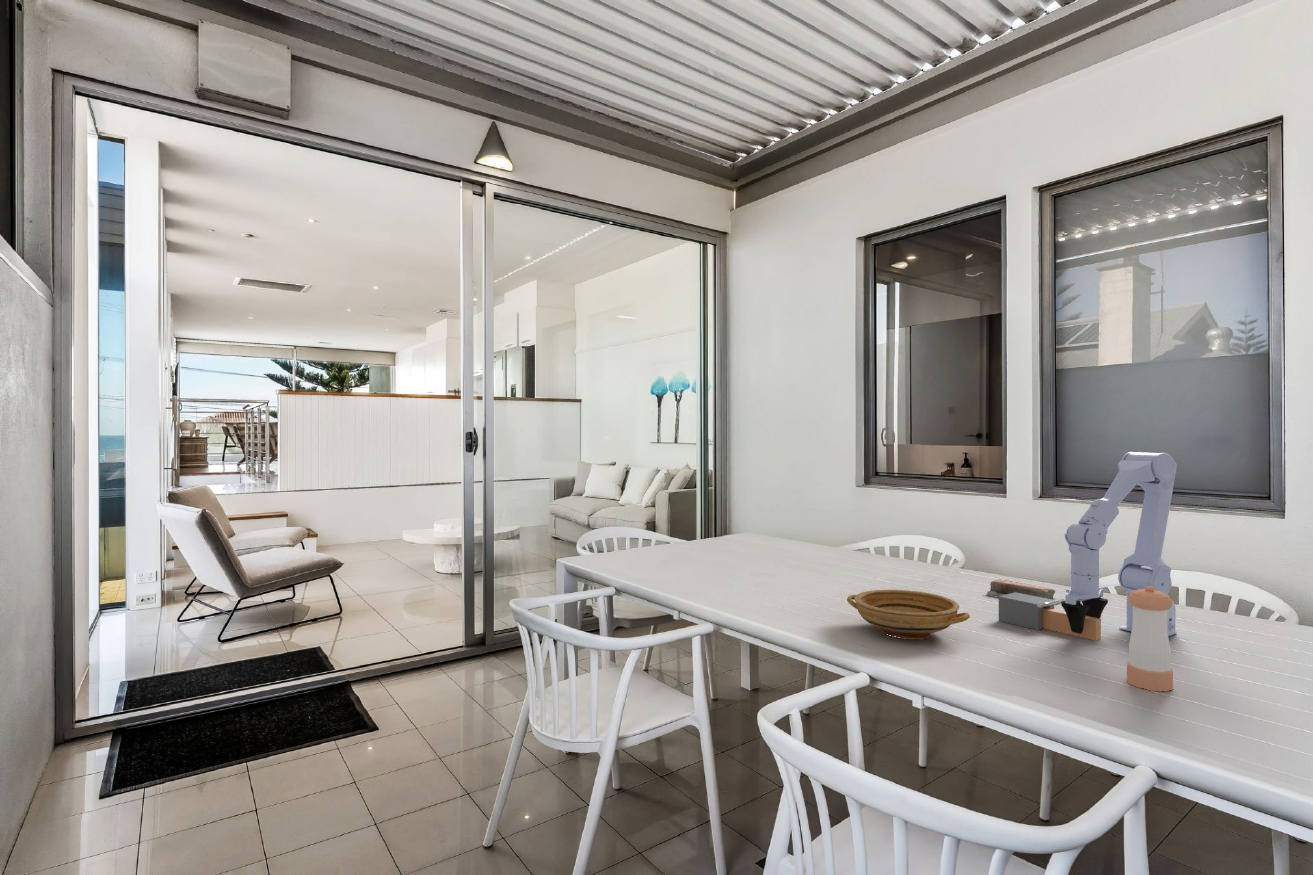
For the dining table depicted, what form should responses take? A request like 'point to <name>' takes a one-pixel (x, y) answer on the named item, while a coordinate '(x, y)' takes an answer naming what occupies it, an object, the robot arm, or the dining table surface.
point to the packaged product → (1020, 589)
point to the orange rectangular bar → (1060, 623)
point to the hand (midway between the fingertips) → (1084, 630)
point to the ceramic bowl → (907, 612)
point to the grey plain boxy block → (1023, 609)
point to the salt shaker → (1150, 641)
